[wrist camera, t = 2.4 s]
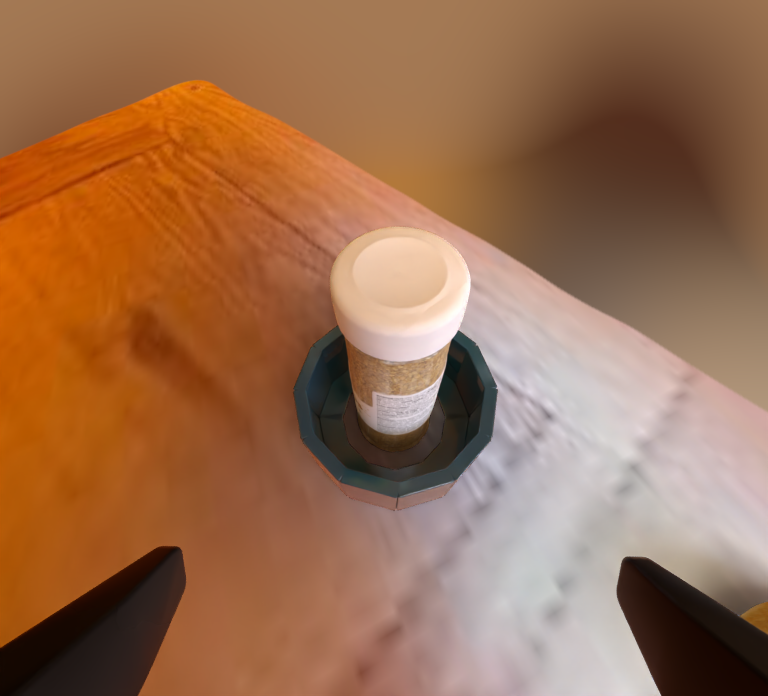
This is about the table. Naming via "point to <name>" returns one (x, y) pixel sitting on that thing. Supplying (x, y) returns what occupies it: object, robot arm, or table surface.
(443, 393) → the bowl
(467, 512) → the table surface
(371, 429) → the spice jar
